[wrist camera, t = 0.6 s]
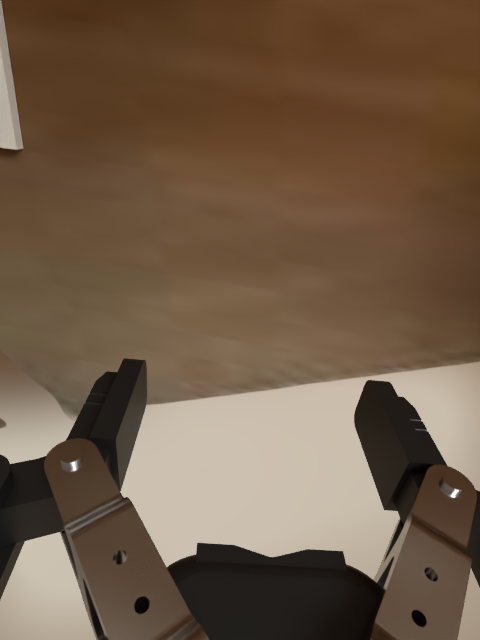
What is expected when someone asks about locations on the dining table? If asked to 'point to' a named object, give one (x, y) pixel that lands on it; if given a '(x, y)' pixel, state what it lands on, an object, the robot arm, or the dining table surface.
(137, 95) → the dining table surface
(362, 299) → the dining table surface
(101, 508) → the robot arm
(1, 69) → the board
